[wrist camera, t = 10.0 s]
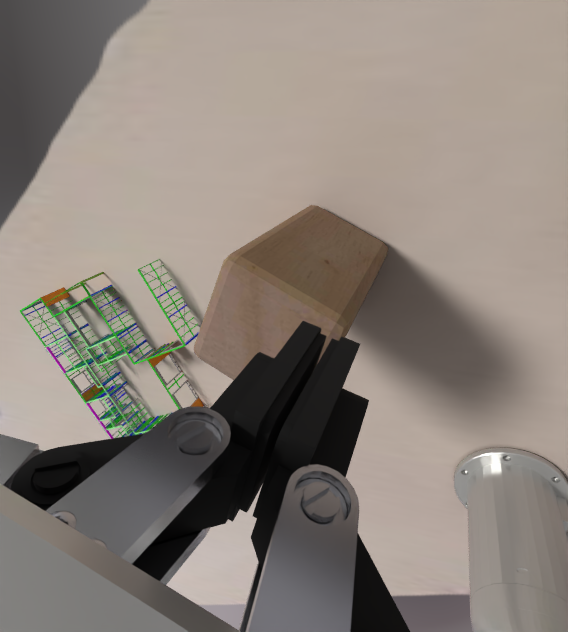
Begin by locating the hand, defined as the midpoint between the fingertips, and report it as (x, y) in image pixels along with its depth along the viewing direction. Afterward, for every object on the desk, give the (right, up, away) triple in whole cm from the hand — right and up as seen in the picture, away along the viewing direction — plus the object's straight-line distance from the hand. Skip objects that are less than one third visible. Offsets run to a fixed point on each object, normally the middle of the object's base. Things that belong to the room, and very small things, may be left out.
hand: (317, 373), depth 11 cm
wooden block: (+5, +8, +34) cm, 35 cm away
